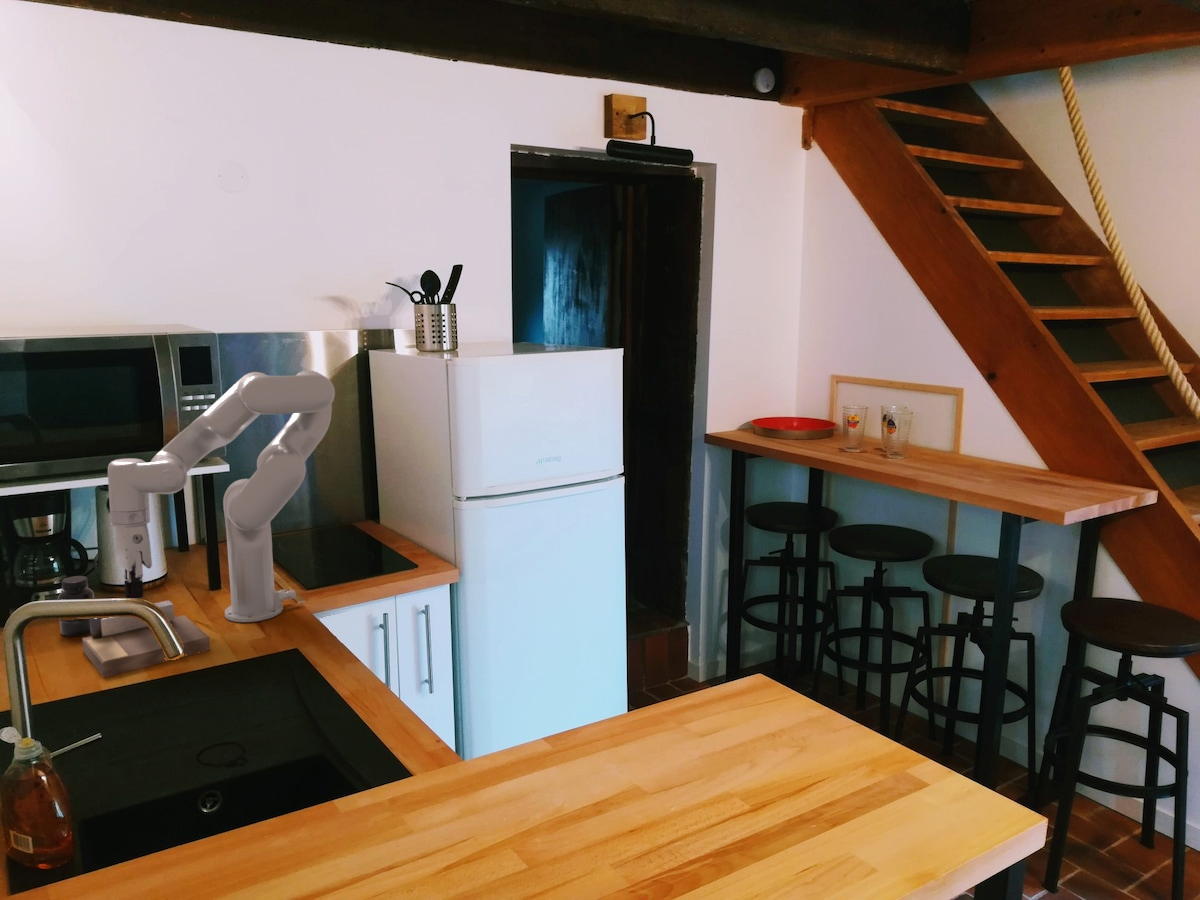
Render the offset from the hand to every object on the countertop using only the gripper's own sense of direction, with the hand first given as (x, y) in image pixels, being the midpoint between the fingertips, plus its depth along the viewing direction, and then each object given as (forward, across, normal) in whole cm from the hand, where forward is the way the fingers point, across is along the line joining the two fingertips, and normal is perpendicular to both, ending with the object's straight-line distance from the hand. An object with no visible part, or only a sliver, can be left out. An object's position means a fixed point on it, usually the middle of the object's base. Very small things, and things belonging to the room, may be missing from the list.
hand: (134, 597), depth 193 cm
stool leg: (+4, -7, +2) cm, 9 cm away
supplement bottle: (+8, +8, +9) cm, 15 cm away
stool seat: (+8, -13, +1) cm, 15 cm away
